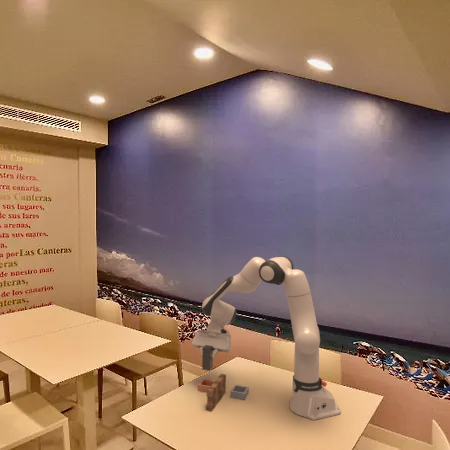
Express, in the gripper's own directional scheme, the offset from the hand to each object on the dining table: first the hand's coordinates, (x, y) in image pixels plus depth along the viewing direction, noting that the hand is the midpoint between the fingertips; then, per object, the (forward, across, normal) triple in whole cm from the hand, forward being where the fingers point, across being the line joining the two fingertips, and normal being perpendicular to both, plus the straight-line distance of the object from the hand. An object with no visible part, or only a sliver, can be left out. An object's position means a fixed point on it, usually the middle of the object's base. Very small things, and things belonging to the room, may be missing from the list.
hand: (207, 357), depth 176 cm
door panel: (+17, +9, +5) cm, 20 cm away
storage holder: (+11, +17, +12) cm, 24 cm away
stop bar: (+4, 0, +5) cm, 6 cm away
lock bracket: (+11, 0, +12) cm, 16 cm away
